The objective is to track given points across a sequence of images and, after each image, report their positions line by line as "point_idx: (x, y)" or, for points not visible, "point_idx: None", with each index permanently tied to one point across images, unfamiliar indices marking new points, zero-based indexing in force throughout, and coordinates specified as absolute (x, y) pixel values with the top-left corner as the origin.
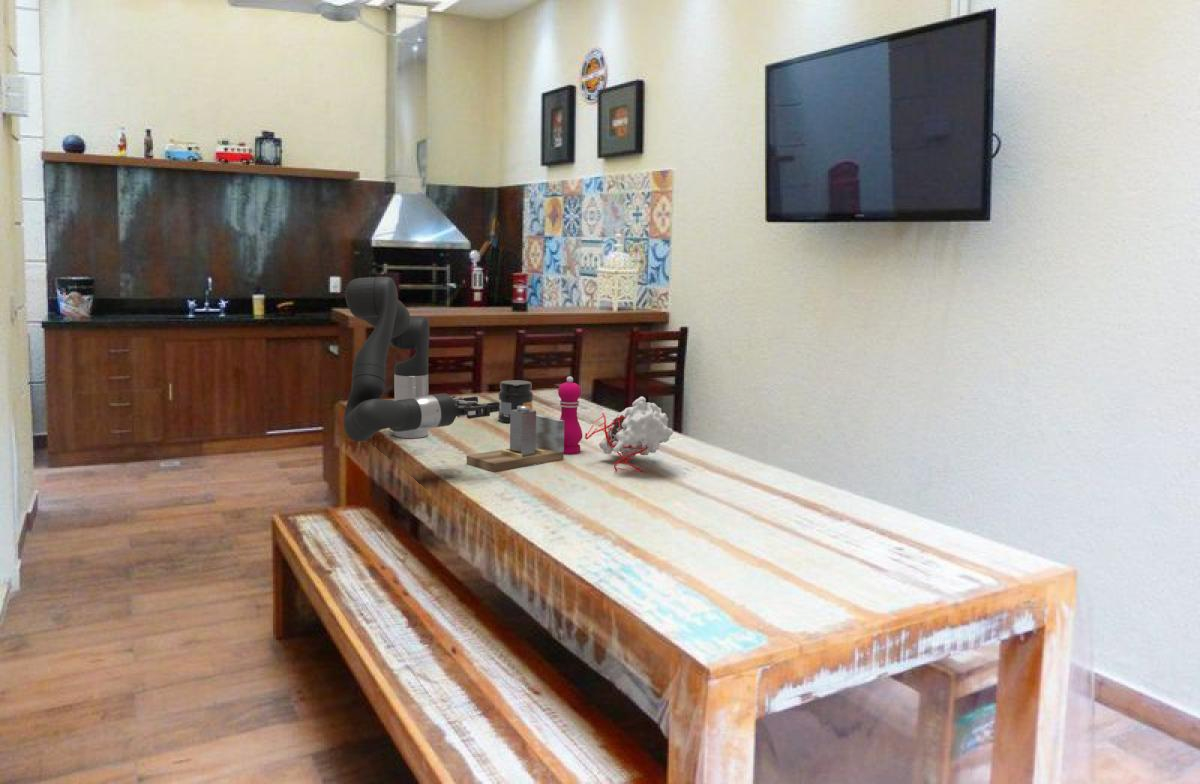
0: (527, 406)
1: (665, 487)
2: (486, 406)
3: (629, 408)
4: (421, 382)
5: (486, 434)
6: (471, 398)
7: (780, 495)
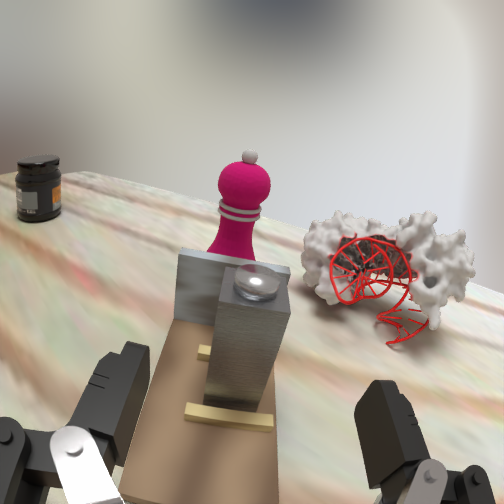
0: (266, 270)
1: (476, 356)
2: (490, 491)
3: (440, 241)
4: None
5: (22, 267)
6: (131, 388)
7: (498, 313)
